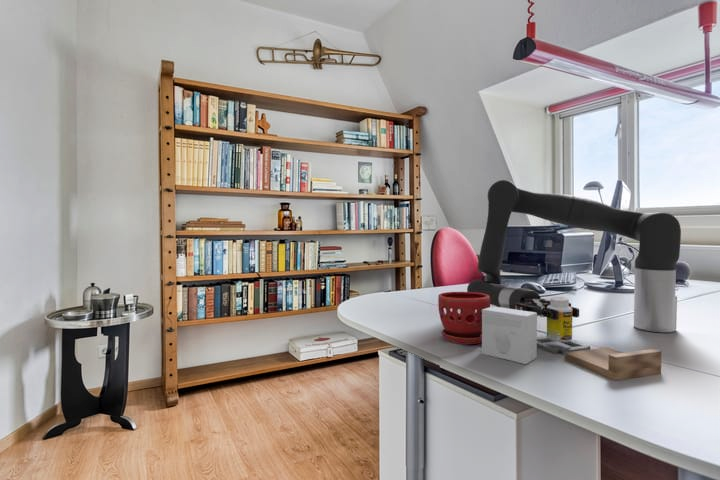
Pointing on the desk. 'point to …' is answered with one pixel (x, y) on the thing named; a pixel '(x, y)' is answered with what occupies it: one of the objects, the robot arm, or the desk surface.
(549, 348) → the socket collar
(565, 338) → the supplement bottle
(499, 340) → the skincare box
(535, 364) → the desk surface
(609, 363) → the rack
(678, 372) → the desk surface
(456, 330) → the plant pot
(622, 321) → the desk surface
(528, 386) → the desk surface
